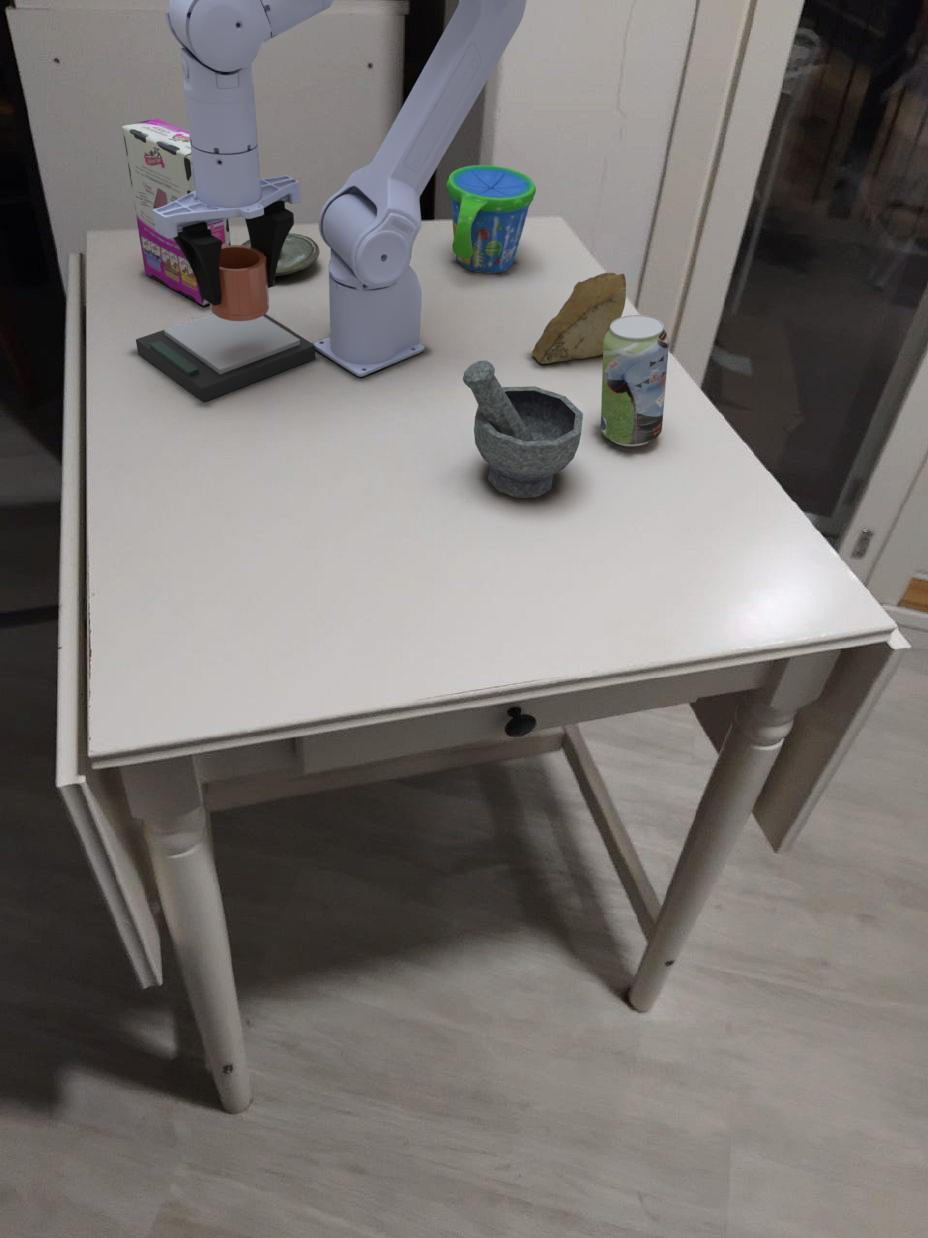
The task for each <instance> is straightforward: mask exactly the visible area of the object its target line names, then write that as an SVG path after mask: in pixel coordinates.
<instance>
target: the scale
mask: <svg viewBox="0 0 928 1238" xmlns="http://www.w3.org/2000/svg"><path fill="white" fill-rule="evenodd" d="M135 345H136V350H137V353H138V354H139V355H140V356H141V357H143V358H144V359H145V360H147V361H148V362H149V363H151V364H152V365H154V366H155V367H156V368H157V369H159V370H160V371H161V372H163V373H164V374H166V375H167V376H168V377H169V378H171V379H172V380H173V381H175V383H177V384H179V385H180V386H182V387H183V388H184V389H186V390H187V391H188V392H190V393H191V394H192V395H193V396H195V397H196V398H197V399H199V400H200V401H201V402H203V403H205V402H209V401H211V400H213V399H216V398H218V397H221V396H224V395H226V394H229V393H231V392H233V391H237V390H238V389H241V388H244V387H247V386H249V385H252V384H254V383H257V382H259V381H262V380H265V379H267V378H270V377H272V376H274V375H278V374H280V373H282V372H285V371H287V370H291V369H293V368H295V367H298V366H300V365H303V364H305V363H308V362H310V361H313V360H315V359H316V349H315V345H314V343H312V342H311V341H309V340H307V339H306V338H304V337H303V336H301V335H300V334H298V333H296V332H295V331H293V330H292V329H290V328H289V327H287V326H285V325H284V324H283V323H281V322H280V321H278V320H276V319H274V318H273V317H271V316H270V315H269V314H267V313H266V314H265V315H263V316H262V317H260V318H257V319H254V320H249V321H230V320H225V319H222V318H220V317H218V316H216V315H214V314H213V313H211V314H208V315H207V314H206V315H204V316H202V317H199V318H195V319H192V320H190V321H187V322H183V323H180V324H178V325H173V326H172V327H171V326H170V327H168V328H165V329H163V330H159V331H156V332H154V333H150V334H147V335H145V336H141V337H138V338H135Z"/></svg>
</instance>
